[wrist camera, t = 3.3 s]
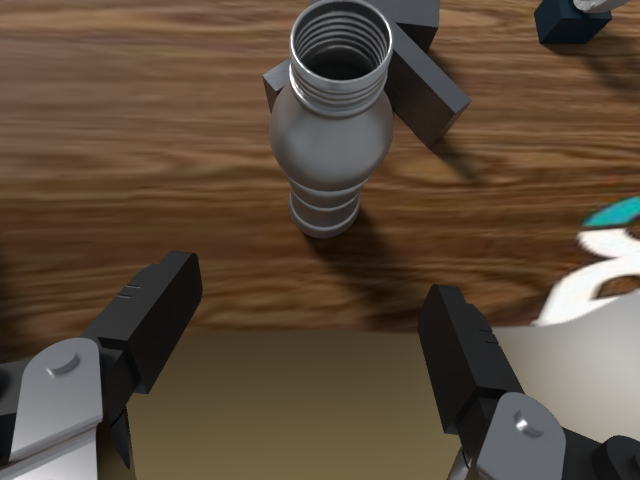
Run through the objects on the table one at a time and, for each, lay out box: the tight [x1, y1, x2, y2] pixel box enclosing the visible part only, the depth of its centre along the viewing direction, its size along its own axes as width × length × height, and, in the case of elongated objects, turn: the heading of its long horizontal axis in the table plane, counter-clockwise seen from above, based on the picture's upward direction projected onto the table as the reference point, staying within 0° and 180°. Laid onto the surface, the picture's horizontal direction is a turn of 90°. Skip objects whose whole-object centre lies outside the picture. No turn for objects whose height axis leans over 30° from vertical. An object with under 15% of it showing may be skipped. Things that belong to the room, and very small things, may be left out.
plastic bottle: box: [269, 0, 394, 239], centre depth 20 cm, size 6×7×20 cm
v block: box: [262, 0, 472, 148], centre depth 30 cm, size 18×14×6 cm
